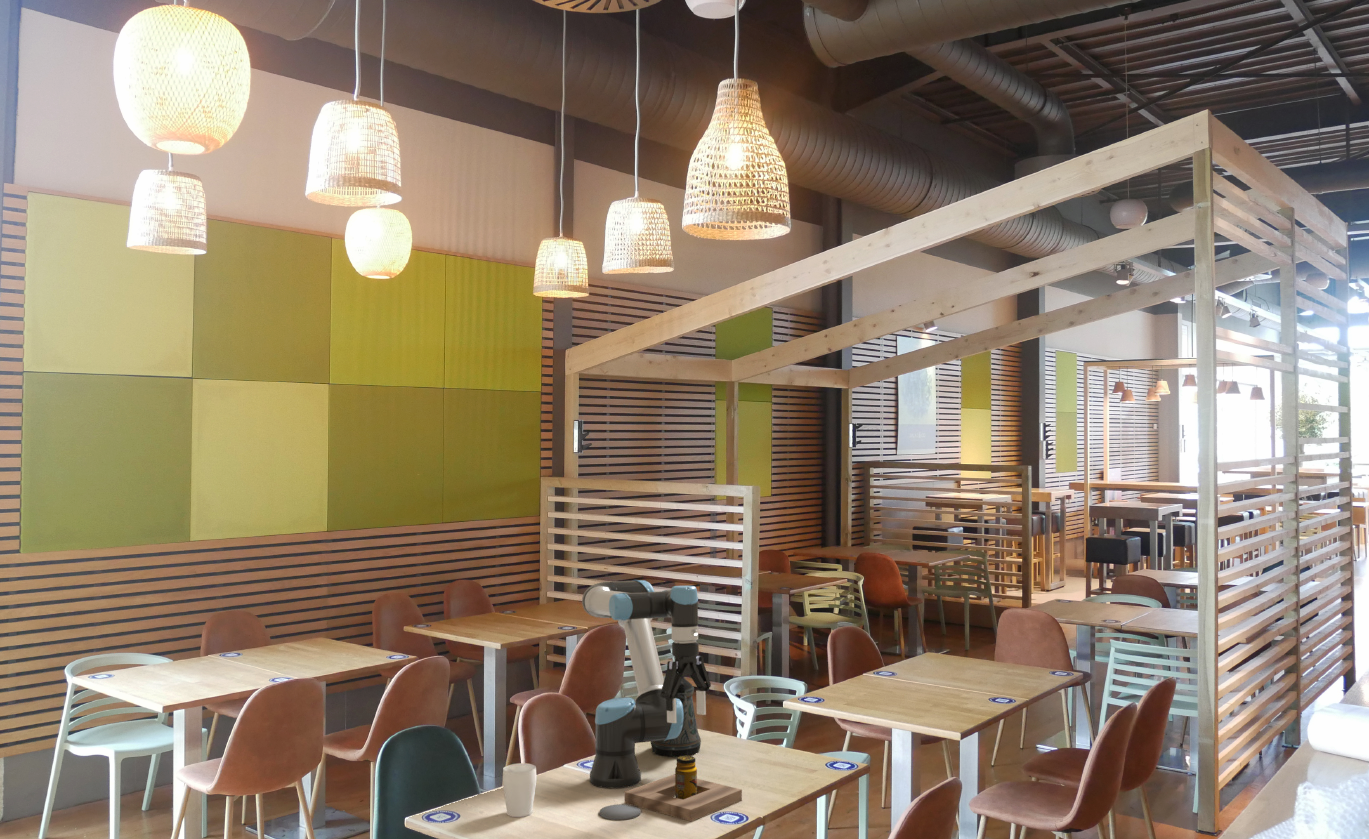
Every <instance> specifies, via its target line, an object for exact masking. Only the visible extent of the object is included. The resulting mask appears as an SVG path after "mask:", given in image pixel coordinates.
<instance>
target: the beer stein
mask: <svg viewBox="0 0 1369 839" xmlns="http://www.w3.org/2000/svg"><path fill="white" fill-rule="evenodd" d="M694 691H695V686H693V684H692V683H691V682H689V681H688V679H686V678H685V677H684V678H682V680H681V682H680V685H679V687H678V689H677V692H676V694H675V696H674V698H677V699H680V701H681V702H682V705H683V726H682V730H681V733H680V734H679V736H678V737H677V738H674V739H668V740H666V741H664V740H661V741H651V742H650V745H651V751H652V753H653V754H654V755H657V756H660V757H665V758H678V757H679V756H694V754H695V755H696V753H697V754H699V752H700V750H701V745H702V740H701V736H700V734H699V730H698V726H697V720H696V713H695V707H694V701H693V694H694Z"/></svg>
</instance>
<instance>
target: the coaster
mask: <svg viewBox="0 0 1369 839" xmlns="http://www.w3.org/2000/svg"><path fill="white" fill-rule="evenodd" d="M598 812H599V816H600V817H601V818H603V819H605V820H609V821H611V820H612V821H627V820H632V819H635V818H637V817H639V816H640V815H641V813H642V810H641V807H637V806H634V805H630V804H627V803H623V804H622V803H620V804H618V803H617V804H609V805H607V806H604V807H602V808H601V809H599V811H598Z"/></svg>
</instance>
